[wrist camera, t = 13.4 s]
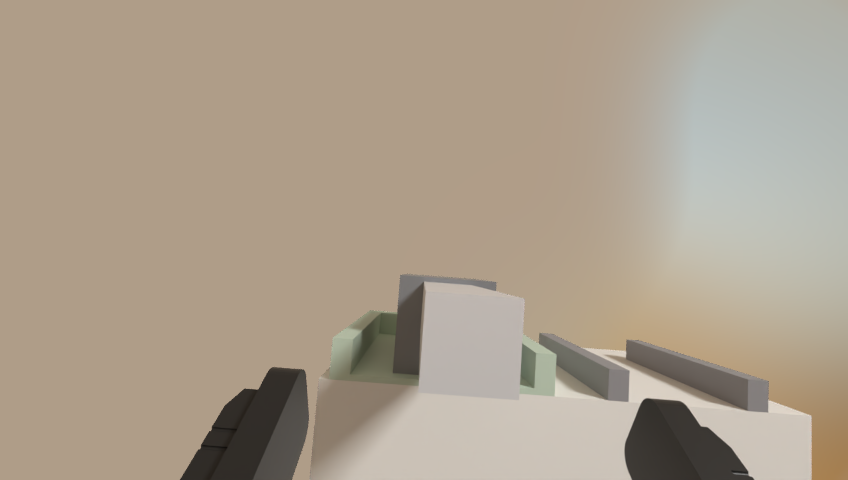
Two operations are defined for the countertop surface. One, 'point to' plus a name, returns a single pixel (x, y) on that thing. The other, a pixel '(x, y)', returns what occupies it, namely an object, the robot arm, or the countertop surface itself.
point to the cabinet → (535, 414)
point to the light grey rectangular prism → (459, 336)
